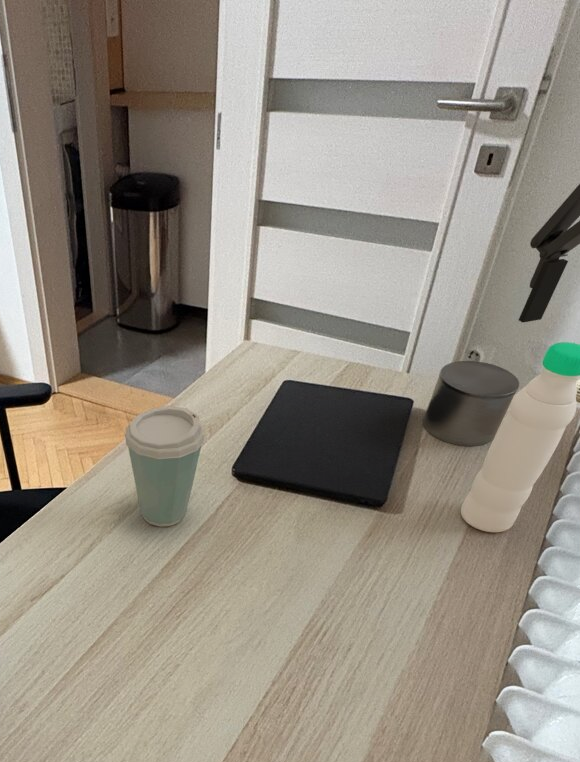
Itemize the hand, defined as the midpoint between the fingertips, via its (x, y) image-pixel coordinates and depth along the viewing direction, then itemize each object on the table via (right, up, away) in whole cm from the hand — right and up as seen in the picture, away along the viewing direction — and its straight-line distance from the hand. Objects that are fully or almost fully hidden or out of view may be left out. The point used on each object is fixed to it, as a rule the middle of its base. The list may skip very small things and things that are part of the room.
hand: (573, 343), depth 70 cm
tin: (+6, 0, +35) cm, 36 cm away
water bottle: (+1, -18, +19) cm, 26 cm away
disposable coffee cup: (-46, -16, +21) cm, 53 cm away
